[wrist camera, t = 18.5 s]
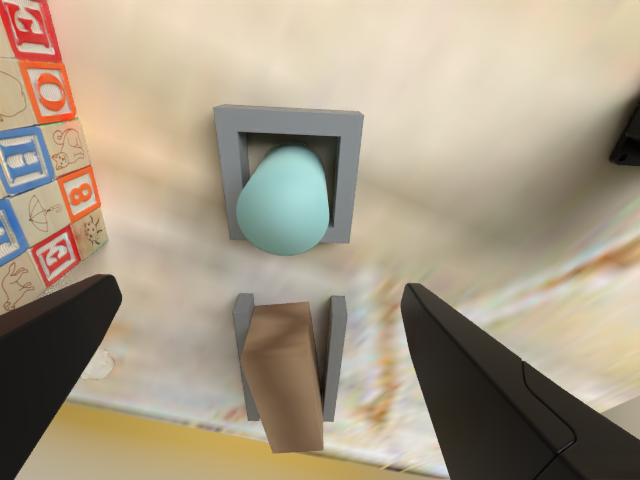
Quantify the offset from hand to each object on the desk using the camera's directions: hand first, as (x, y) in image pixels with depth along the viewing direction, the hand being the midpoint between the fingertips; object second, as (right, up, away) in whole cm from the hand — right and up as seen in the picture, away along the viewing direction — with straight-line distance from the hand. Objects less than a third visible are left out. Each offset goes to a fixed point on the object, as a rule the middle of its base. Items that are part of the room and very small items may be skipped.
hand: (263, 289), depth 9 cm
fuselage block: (-1, -10, +20) cm, 23 cm away
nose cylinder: (0, +6, +11) cm, 13 cm away
